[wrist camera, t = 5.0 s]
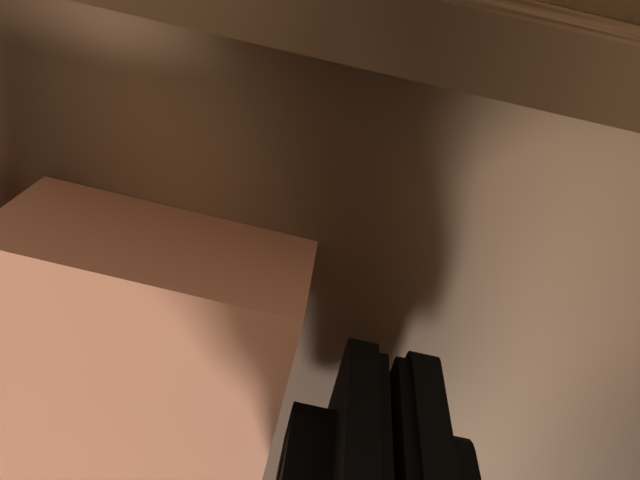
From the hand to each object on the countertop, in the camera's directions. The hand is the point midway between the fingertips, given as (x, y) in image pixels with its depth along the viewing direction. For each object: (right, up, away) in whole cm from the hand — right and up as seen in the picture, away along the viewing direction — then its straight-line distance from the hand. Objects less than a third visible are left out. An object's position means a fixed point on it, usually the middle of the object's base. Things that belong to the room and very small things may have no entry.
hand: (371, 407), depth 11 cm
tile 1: (-4, +1, +1) cm, 4 cm away
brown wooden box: (0, +4, +7) cm, 8 cm away
